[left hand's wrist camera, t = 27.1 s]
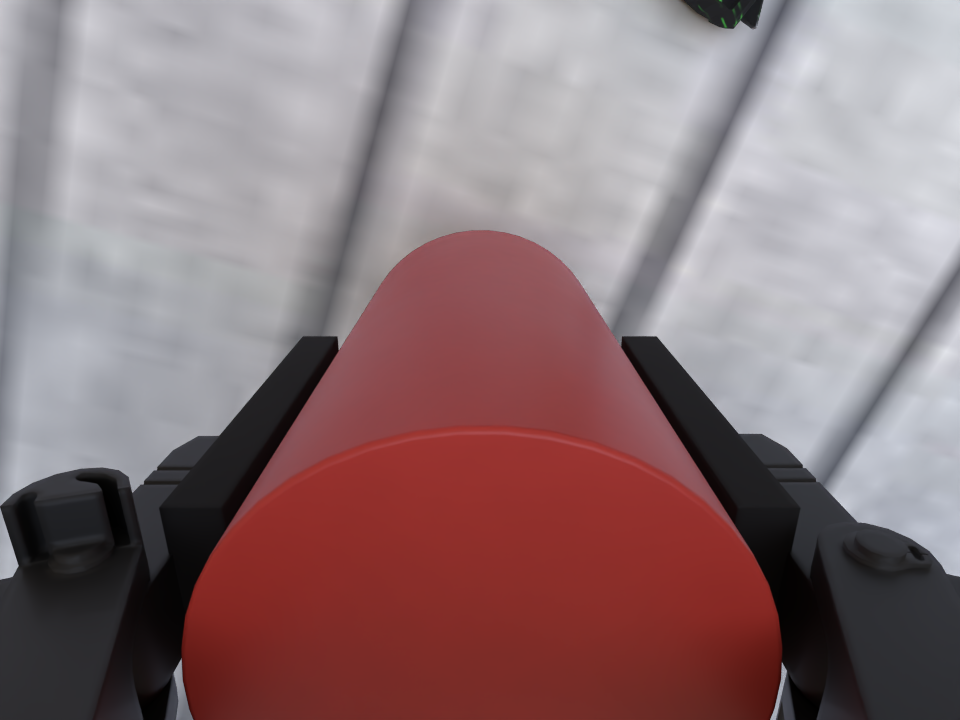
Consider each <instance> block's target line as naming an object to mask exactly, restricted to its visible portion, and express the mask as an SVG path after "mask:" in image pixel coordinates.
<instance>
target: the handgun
mask: <svg viewBox="0 0 960 720" xmlns="http://www.w3.org/2000/svg"><path fill="white" fill-rule="evenodd" d="M684 1H685V2H686V3H687V4H688V5H689V6H691V7H692V8H693V9H694V10H695V11H696V12H697V13H699V14H700V15H702V16H704V17H705V18H707V19H708V20H709V22H710V23H712V24H714V25H716V26H718V27H722V28H728V29H734V27H735V26H736V25H737V24H738V22H739V21H740V20H741V21H742V22H743V23H745V24H746V25H747V26H749V27H750V28H751V29H755V28H757V24H758V20H759V16H760V12H761V8H762V4H763V0H684Z"/></svg>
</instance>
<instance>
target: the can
mask: <svg viewBox="0 0 960 720" xmlns="http://www.w3.org/2000/svg"><path fill="white" fill-rule="evenodd" d="M181 653H182V673H183V683H184V688H185V692H186V696H187V701H188V705H189V710H190V712H191V715H192V717H193V720H770V719H771V716H772V714H773V711H774V708H775V704H776V699H777V695H778V690H779V686H780V681H781V667H782V640H781V632H780V625H779V617H778V612H777V609H776V606H775V603H774V600H773V596H772V593H771V590H770V587H769V584H768V582H767V580H766V578H765V576H764V574H763V572H762V570H761V568H760V566H759V564H758V562H757V561H756V559H755V557H754V555H753V553H752V551H751V550H750V548H749V547H748V545H747V544H746V542H745V541H744V539H743V537H742V536H741V534H740V533H739V531H738V530H737V528H736V526H735V525H734V523H733V522H732V520H731V519H730V517H729V515H728V514H727V512H726V511H725V509H724V508H723V506H722V505H721V503H720V501H719V500H718V498H717V497H716V495H715V494H714V492H713V490H712V489H711V487H710V486H709V484H708V483H707V481H706V480H705V478H704V476H703V475H702V473H701V472H700V470H699V469H698V467H697V465H696V464H695V462H694V461H693V459H692V458H691V456H690V454H689V453H688V451H687V450H686V448H685V447H684V445H683V444H682V442H681V440H680V439H679V437H678V436H677V434H676V433H675V431H674V429H673V428H672V426H671V425H670V423H669V422H668V420H667V418H666V417H665V415H664V414H663V412H662V411H661V409H660V408H659V406H658V404H657V403H656V401H655V400H654V398H653V397H652V395H651V393H650V392H649V390H648V389H647V387H646V386H645V384H644V382H643V381H642V379H641V378H640V376H639V375H638V373H637V372H636V370H635V368H634V367H633V365H632V364H631V362H630V361H629V359H628V357H627V356H626V354H625V353H624V351H623V350H622V348H621V346H620V345H619V343H618V342H617V340H616V339H615V337H614V336H613V334H612V332H611V331H610V329H609V328H608V326H607V325H606V323H605V321H604V320H603V318H602V317H601V315H600V314H599V312H598V311H597V309H596V307H595V306H594V304H593V303H592V301H591V300H590V298H589V296H588V295H587V293H586V292H585V290H584V289H583V287H582V285H581V284H580V283H579V281H578V280H577V278H576V277H575V276H574V274H573V273H572V272H571V271H570V269H569V268H568V267H567V266H566V265H565V264H564V263H563V262H562V261H561V260H560V259H558V258H557V257H556V256H554V255H553V254H552V253H551V252H549V251H548V250H546V249H544V248H543V247H541V246H539V245H538V244H536V243H534V242H532V241H529V240H527V239H524V238H522V237H519V236H516V235H512V234H508V233H504V232H496V231H489V230H478V231H465V232H458V233H453V234H450V235H446V236H443V237H440V238H437V239H435V240H433V241H430V242H428V243H426V244H424V245H422V246H421V247H419V248H417V249H416V250H414V251H412V252H411V253H410V254H408V255H407V256H406V257H405V258H403V259H402V260H401V261H400V262H399V263H398V264H397V265H396V266H395V267H394V268H393V269H392V270H391V271H390V272H389V274H388V275H387V277H386V278H385V279H384V281H383V282H382V283H381V285H380V287H379V288H378V290H377V291H376V293H375V294H374V296H373V298H372V299H371V301H370V302H369V304H368V306H367V307H366V309H365V310H364V312H363V313H362V315H361V317H360V318H359V320H358V321H357V323H356V325H355V326H354V328H353V329H352V331H351V332H350V334H349V336H348V337H347V339H346V340H345V342H344V344H343V345H342V347H341V348H340V350H339V352H338V353H337V355H336V356H335V358H334V359H333V361H332V363H331V364H330V366H329V367H328V369H327V371H326V372H325V374H324V375H323V377H322V378H321V380H320V382H319V383H318V385H317V386H316V388H315V390H314V391H313V393H312V394H311V396H310V397H309V399H308V401H307V402H306V404H305V405H304V407H303V409H302V410H301V412H300V413H299V415H298V417H297V418H296V420H295V421H294V423H293V424H292V426H291V428H290V429H289V431H288V432H287V434H286V436H285V437H284V439H283V440H282V442H281V443H280V445H279V447H278V448H277V450H276V451H275V453H274V455H273V456H272V458H271V459H270V461H269V462H268V464H267V466H266V467H265V469H264V470H263V472H262V474H261V475H260V477H259V478H258V480H257V482H256V483H255V485H254V486H253V488H252V489H251V491H250V493H249V494H248V496H247V497H246V499H245V501H244V502H243V504H242V505H241V507H240V508H239V510H238V512H237V513H236V515H235V516H234V518H233V520H232V521H231V523H230V524H229V526H228V527H227V529H226V531H225V532H224V534H223V535H222V537H221V539H220V540H219V542H218V543H217V545H216V547H215V548H214V550H213V551H212V553H211V554H210V556H209V558H208V560H207V562H206V564H205V566H204V568H203V570H202V572H201V574H200V576H199V578H198V580H197V582H196V584H195V586H194V589H193V592H192V596H191V599H190V602H189V605H188V609H187V612H186V615H185V622H184V630H183V638H182V647H181Z"/></svg>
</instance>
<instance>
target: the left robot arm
mask: <svg viewBox="0 0 960 720" xmlns="http://www.w3.org/2000/svg"><path fill="white" fill-rule="evenodd" d="M621 348H622V350H623V351H624V353H625V354H626V356H627V357H628V359H629V361H630V362H631V364H632V365H633V367H634V368H635V370H636V372H637V373H638V375H639V376H640V378H641V379H642V381H643V382H644V384H645V386H646V387H647V389H648V390H649V392H650V393H651V395H652V397H653V398H654V400H655V401H656V403H657V404H658V406H659V408H660V409H661V411H662V412H663V414H664V415H665V417H666V418H667V420H668V422H669V423H670V425H671V426H672V428H673V429H674V431H675V433H676V434H677V436H678V437H679V439H680V440H681V442H682V444H683V445H684V447H685V448H686V450H687V451H688V453H689V454H690V456H691V458H692V459H693V461H694V462H695V464H696V465H697V467H698V469H699V470H700V472H701V473H702V475H703V476H704V478H705V480H706V481H707V483H708V484H709V486H710V487H711V489H712V490H713V492H714V494H715V495H716V497H717V498H718V500H719V501H720V503H721V505H722V506H723V508H724V509H725V511H726V512H727V514H728V515H729V517H730V519H731V520H732V522H733V523H734V525H735V526H736V528H737V530H738V531H739V533H740V534H741V536H742V537H743V539H744V541H745V542H746V544H747V545H748V547H749V548H750V550H751V551H752V553H753V555H754V557H755V559H756V561H757V562H758V564H759V566H760V568H761V570H762V572H763V574H764V576H765V578H766V580H767V582H768V584H769V587H770V590H771V593H772V596H773V600H774V603H775V606H776V609H777V612H778V617H779V625H780V632H781V640H782V663H783V664H784V666H785V668H786V670H787V674H786V678H785V683H784V687H783V691H782V696H781V700H780V704H779V709H778V713H777V718H776V720H960V577H958V576H953V575H949V574H946V573H945V571H944V569H943V567H942V565H941V564H940V563H939V562H938V561H937V560H936V558H935V557H934V556H933V555H932V554H931V553H930V551H928V550H927V549H925V548H924V547H922V546H921V545H919V544H918V543H916V542H915V541H913V540H912V539H910V538H908V537H905V536H903V535H901V534H898V533H896V532H894V531H892V530H889V529H886V528H882V527H878V526H874V525H870V524H866V523H858V522H857V521H856V520H855V519H854V518H853V517H852V516H851V515H850V514H849V513H848V512H847V511H846V510H845V509H844V508H843V507H842V506H841V505H840V503H839V502H838V501H837V500H836V499H835V498H834V497H833V496H832V495H831V494H830V493H829V492H828V491H827V490H826V489H825V488H824V487H823V486H822V485H821V484H820V483H819V482H816V478H815V477H814V476H813V475H812V474H811V473H810V472H809V471H808V470H807V469H806V468H803V465H802V464H801V463H800V462H799V460H798V459H797V458H796V457H795V456H794V455H793V454H792V453H791V452H790V451H789V450H788V449H787V448H785V447H784V446H782V445H780V444H778V443H777V442H775V441H773V440H771V439H769V438H768V437H766V436H764V435H762V434H738V433H737V431H736V430H735V429H734V428H733V427H732V426H731V424H730V423H729V422H728V421H727V420H726V418H725V417H724V416H723V415H722V414H721V412H720V411H719V410H718V409H717V408H716V407H715V405H714V404H713V403H712V402H711V401H710V399H709V398H708V397H707V396H706V395H705V393H704V392H703V391H702V390H701V389H700V387H699V386H698V385H697V384H696V383H695V382H694V380H693V379H692V378H691V377H690V376H689V374H688V373H687V372H686V371H685V370H684V368H683V367H682V366H681V365H680V364H679V363H678V361H677V360H676V359H675V358H674V357H673V355H672V354H671V353H670V352H669V351H668V349H667V348H666V347H665V346H664V345H663V344H662V342H661V341H660V340H659V339H658V338H657V336H622V345H621ZM338 352H339V349H338V338H337V336H316V337H302V338H301V339H300V341H299V342H298V343H297V344H296V345H295V347H294V348H293V349H292V350H291V351H290V353H289V354H288V355H287V356H286V357H285V358H284V360H283V361H282V362H281V363H280V364H279V366H278V367H277V368H276V369H275V370H274V372H273V373H272V374H271V375H270V376H269V377H268V379H267V380H266V381H265V382H264V383H263V385H262V386H261V387H260V388H259V389H258V391H257V392H256V393H255V394H254V395H253V397H252V398H251V399H250V400H249V401H248V402H247V404H246V405H245V406H244V407H243V408H242V410H241V411H240V412H239V413H238V414H237V416H236V417H235V418H234V419H233V420H232V421H231V423H230V424H229V425H228V426H227V427H226V429H225V430H224V431H223V432H222V433H221V435H220V436H198V437H196V438H194V439H192V440H191V441H189V442H187V443H185V444H184V445H182V446H180V447H178V448H177V449H175V450H173V451H172V452H171V453H170V454H169V455H168V456H167V457H166V459H165V460H164V461H163V462H162V463H161V464H160V465H159V466H158V467H157V471H153V472H152V473H151V474H150V475H149V477H148V478H147V479H146V480H145V481H144V485H140V486H139V487H138V488H137V489H136V490H135V491H134V492H133V493H132V490H131V486H130V482H129V477H128V476H126V475H125V474H123V473H122V472H121V471H119V470H113V469H108V468H88V469H78V470H74V471H69V472H64V473H60V474H56V475H53V476H50V477H48V478H45V479H42V480H40V481H37V482H34V483H32V484H30V485H28V486H27V487H25V488H23V489H21V490H20V491H18V492H16V493H14V494H13V495H12V496H11V497H10V498H9V499H7V500H6V501H5V502H4V503H3V504H2V505H1V506H0V508H1V511H2V515H3V518H4V521H5V524H6V527H7V530H8V533H9V537H10V540H11V543H12V546H13V549H14V552H15V555H16V559H17V562H18V565H19V567H18V568H17V570H16V572H15V574H14V576H13V577H11V578H7V579H2V580H0V720H176V714H177V707H178V694H177V687H176V683H175V678H174V674H173V672H174V671H175V669H176V667H177V665H178V664H179V662H180V660H181V658H182V653H181V647H182V638H183V630H184V622H185V615H186V612H187V609H188V605H189V602H190V599H191V596H192V592H193V589H194V586H195V584H196V582H197V580H198V578H199V576H200V574H201V572H202V570H203V568H204V566H205V564H206V562H207V560H208V558H209V556H210V554H211V553H212V551H213V550H214V548H215V547H216V545H217V543H218V542H219V540H220V539H221V537H222V535H223V534H224V532H225V531H226V529H227V527H228V526H229V524H230V523H231V521H232V520H233V518H234V516H235V515H236V513H237V512H238V510H239V508H240V507H241V505H242V504H243V502H244V501H245V499H246V497H247V496H248V494H249V493H250V491H251V489H252V488H253V486H254V485H255V483H256V482H257V480H258V478H259V477H260V475H261V474H262V472H263V470H264V469H265V467H266V466H267V464H268V462H269V461H270V459H271V458H272V456H273V455H274V453H275V451H276V450H277V448H278V447H279V445H280V443H281V442H282V440H283V439H284V437H285V436H286V434H287V432H288V431H289V429H290V428H291V426H292V424H293V423H294V421H295V420H296V418H297V417H298V415H299V413H300V412H301V410H302V409H303V407H304V405H305V404H306V402H307V401H308V399H309V397H310V396H311V394H312V393H313V391H314V390H315V388H316V386H317V385H318V383H319V382H320V380H321V378H322V377H323V375H324V374H325V372H326V371H327V369H328V367H329V366H330V364H331V363H332V361H333V359H334V358H335V356H336V355H337V353H338Z"/></svg>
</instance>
